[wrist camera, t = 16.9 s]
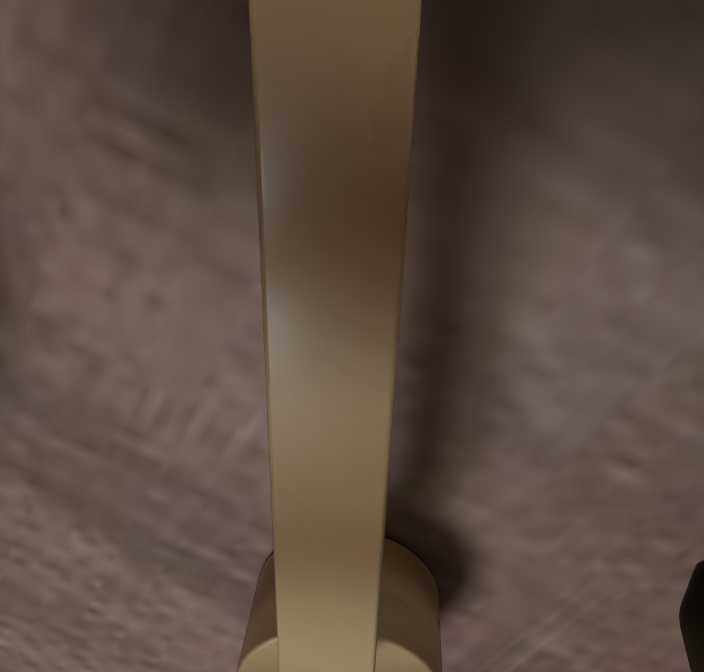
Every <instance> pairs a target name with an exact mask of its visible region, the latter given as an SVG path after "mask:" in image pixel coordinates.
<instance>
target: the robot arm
mask: <svg viewBox="0 0 704 672" xmlns="http://www.w3.org/2000/svg"><path fill="white" fill-rule="evenodd" d="M679 620H680V628H681V632H682V636H683V640H684V645H685V649H686V653H687V657H688V661H689V665H690V669H691V672H704V560H702V561H700V562H699V563H698V564H697V565H696V567H695V568H694V571H693V573H692V576H691V579H690V581H689V584H688V587H687V589H686V592H685V595H684V597H683V600H682V603H681V606H680V612H679Z"/></svg>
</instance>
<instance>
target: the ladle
mask: <svg viewBox="0 0 704 672" xmlns="http://www.w3.org/2000/svg"><path fill="white" fill-rule="evenodd" d="M421 13H422V0H249V19H250V42H251V64H252V86H253V108H254V130H255V152H256V174H257V196H258V219H259V241H260V263H261V285H262V307H263V329H264V351H265V374H266V396H267V418H268V440H269V462H270V484H271V506H272V529H273V551H274V553H273V554H272V555H271V556H270V557H269V558H268V559H267V561H266V562H265V564H264V565H263V567H262V569H261V572H260V574H259V578H258V582H257V587H256V591H255V595H254V599H253V604H252V608H251V612H250V617H249V621H248V625H247V629H246V634H245V638H244V642H243V646H242V651H241V655H240V659H239V664H238V668H237V672H442V657H441V637H440V618H439V598H438V590H437V585H436V583H435V580H434V578H433V576H432V574H431V572H430V571H429V569H428V568H427V567H426V565H425V564H424V563H423V562H422V561H421V560H420V559H419V558H418V557H417V556H416V555H415V554H414V553H412V552H411V551H410V550H408V549H407V548H405V547H404V546H402V545H400V544H398V543H397V542H394V541H392V540H390V539H387V538H385V537H384V536H385V522H386V508H387V494H388V480H389V466H390V451H391V437H392V423H393V409H394V395H395V381H396V367H397V352H398V338H399V324H400V310H401V296H402V282H403V267H404V253H405V239H406V225H407V211H408V197H409V183H410V168H411V154H412V140H413V126H414V112H415V98H416V83H417V69H418V55H419V41H420V27H421Z"/></svg>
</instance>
